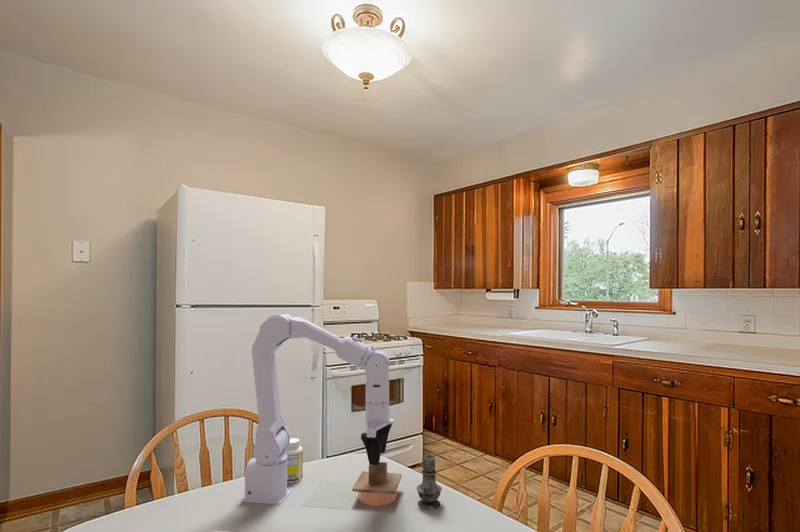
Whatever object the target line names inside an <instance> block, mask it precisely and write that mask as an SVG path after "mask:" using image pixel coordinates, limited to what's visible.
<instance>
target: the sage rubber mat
mask: <svg viewBox="0 0 800 532" xmlns="http://www.w3.org/2000/svg"><path fill="white" fill-rule="evenodd" d="M356 482H357V481H342V480H340V481H339V480H325V479H324V480H323V479H320V481H319V482H318V483H317V484H316V486H315V487H314V488H313V489H312V491H311V492H310V493H309V495H308V496H307V498H306V499H304V502H303V503H302V504H301V507H308V508H309V507H311V508H324V509H325V508H327V509H340V510H348V509H349V507H350V505H351V504H352V502H353V500H354V498H355V497H356V495H357V494H358V492H354V491H352V488H353V487H354V485H355V483H356Z"/></svg>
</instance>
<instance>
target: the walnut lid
mask: <svg viewBox="0 0 800 532" xmlns="http://www.w3.org/2000/svg"><path fill="white" fill-rule="evenodd" d="M402 475H403V474H402V473H394V472H388V462H386V461H385V462H384V461H383V462H382V461H379V464H378V465H370V464H369V463H368V471H362V472H361V473H360V475H359V477H358V479H357V480H356V481H355V482H356V483H355V485H354V487H353V488H352V491H354V492H357V493H358V492H369V493H384V494H395V493H396V490H397V491H398V488H399V484H400V482H401V480H402Z"/></svg>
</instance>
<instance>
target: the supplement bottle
mask: <svg viewBox="0 0 800 532" xmlns="http://www.w3.org/2000/svg"><path fill="white" fill-rule="evenodd" d="M285 451H286V453H287V484H288V483H289V484H291V483H293V484H294V483H296V482H299V481H301V480H302V479H303V463H304V462H303V457H304V456H303V452H304V451H303V447H302V446H301V443H300V439H299V438H296V437H290V442H289V444H288V446H287V447H286V448H285Z"/></svg>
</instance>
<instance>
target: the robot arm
mask: <svg viewBox="0 0 800 532" xmlns="http://www.w3.org/2000/svg"><path fill="white" fill-rule="evenodd" d="M300 338H306V339H309V340H311V341H313V342H315V343H318V344H320V345H322V346H324V347H326V348H329V349H331V350H333V351H335V354H336V355H337V356H336V357H337V358H338V359H339V360H342V361H344V362H346V363H347V364H351V365H352V366H353V367H356V368H358V369H361V370H362V369H363V370H364V371H365V373H366V380H365V419H364V425H365V427H366V432H361V435H360V440H361V441H362V444H363V445H364V448H365V450H366V451H365V452H366V455H367V459H368V465H369V464H370V465H378V464H379V462H381V461H380V459H381V455H382V454H385V453H386V452H385V451H386V448H387V443H388V439H389V434H390V431H391V428H392V426H393V425H394V423H395V419H393V418H390V380H389V377H390V374H389V368H390V357H389V355H388V353H386V352H385V351H384V350H383V349H380V348H377V349H376V347H375V346H374V345H371V346H369V345H368V344H365V343H363V342H362V341H359V337H357V336H355V335H353V336H352V337H351V336H350V335H349V336H348V335H347V336H345V337H342V338H341V337H339V336H338V335H335V334H334V333H331V332H330V331H328V330H326V329H324V328H322V327H321V326H318V325H317V324H315V323H314V322H311V321H309V320H307V319H305V318H303V317H300V316H296V315H294V314H292V313H289V312H288V313H287V312H284V313H281V314H276V315H275V314H274V315H271V316H269V317H267V319H266V320H265V321H264V322H263V323H262V324H260V325H259V331H258V334H257V336H256V338H255V340H254V342H253V344H252V346H251V357H252V364H253V365H252V366H253V375H254V376H253V377H254V378H253V379H254V385H255V395H256V405H257V416H258V424H257V428H256V431H255V443H254V445H253V449H252V451H253V456H254V457H252V458H250V459H249V460H248V462H247V465H246V467H245V473H244V499H242V501H243V502H245V503H258V504H269V505H271V504H272V505H281V504H283V502H284V501H285V500H286V499H287V497H289V495H291V493H293V491H294V488H293V487H288V483H287V453H286V451H285V448H286V447H287V446H288V444H289V442H290V438H291V436H290V433H289V431H288V429H287V427H286V424H285V423H286V422H285V420H284V418H283V417H282V414H281V407H280V405H281V404H280V396H279V395H280V394H279V387H278V377H277V376H278V375H277V366H276V358H275V352H277V350H278V349H280V347H281V346H282V345H283V343H285V342H287V340H290V339H300Z"/></svg>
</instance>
